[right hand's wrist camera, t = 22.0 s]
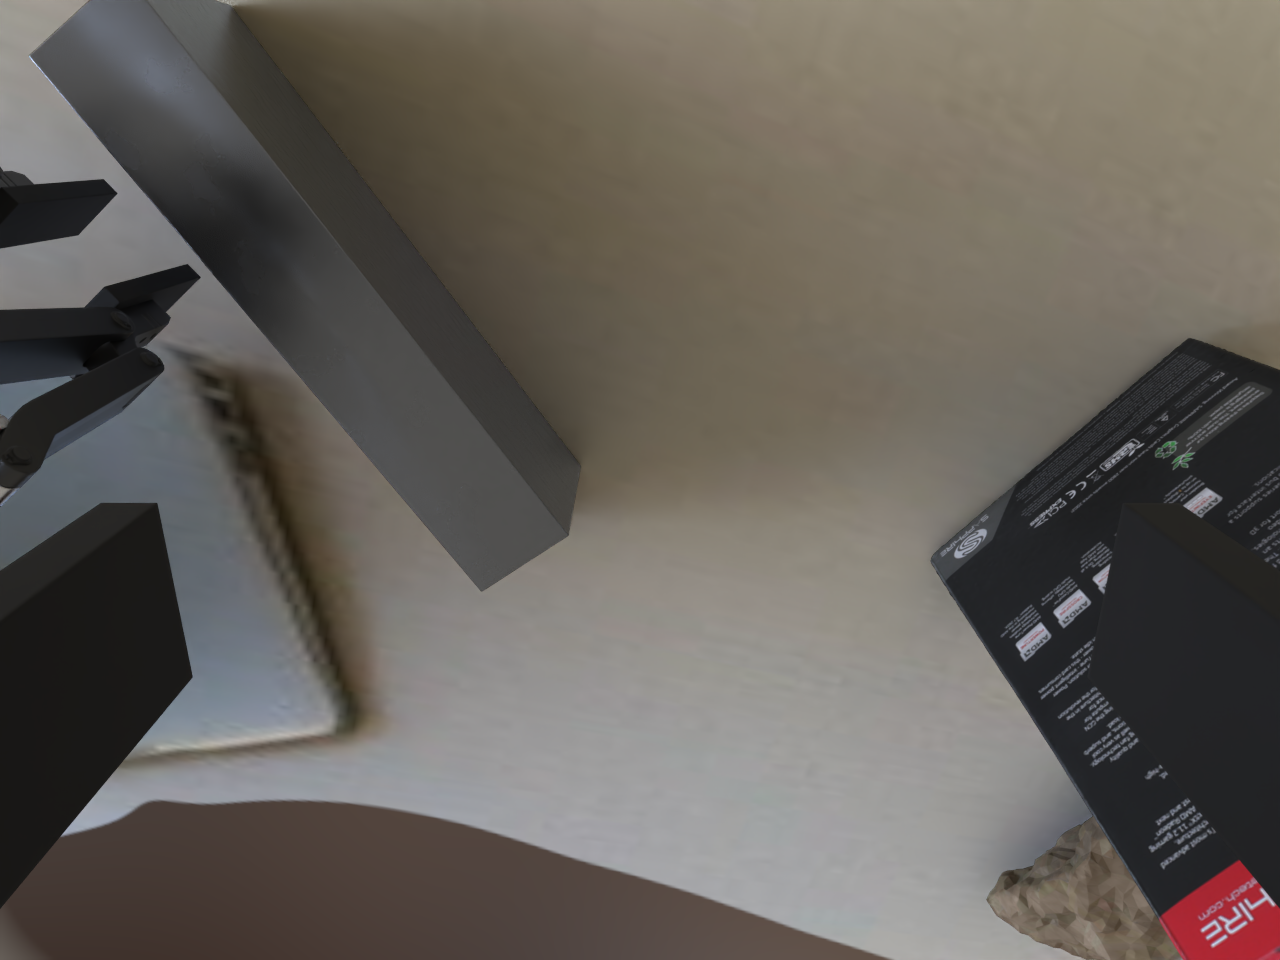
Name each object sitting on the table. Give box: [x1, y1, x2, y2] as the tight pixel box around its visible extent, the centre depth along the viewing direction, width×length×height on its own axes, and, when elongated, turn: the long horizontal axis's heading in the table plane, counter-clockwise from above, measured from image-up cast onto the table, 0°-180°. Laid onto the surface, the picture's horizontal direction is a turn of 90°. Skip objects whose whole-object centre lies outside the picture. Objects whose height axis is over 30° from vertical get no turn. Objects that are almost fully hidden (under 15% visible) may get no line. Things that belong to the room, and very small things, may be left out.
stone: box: [987, 816, 1183, 960], centre depth 52 cm, size 21×15×6 cm
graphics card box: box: [931, 338, 1280, 960], centre depth 34 cm, size 17×7×27 cm, turn 138°
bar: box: [29, 0, 581, 591], centre depth 39 cm, size 26×5×9 cm, turn 35°
